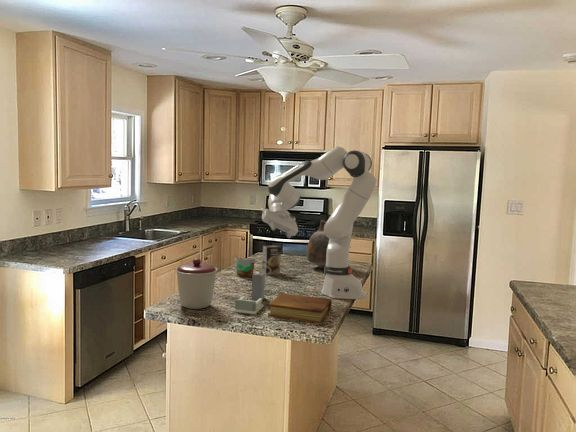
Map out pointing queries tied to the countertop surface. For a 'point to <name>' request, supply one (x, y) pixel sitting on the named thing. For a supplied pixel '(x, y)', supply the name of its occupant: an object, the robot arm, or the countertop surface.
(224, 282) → the countertop surface
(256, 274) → the grey block with knob
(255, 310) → the pocket
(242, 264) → the food container
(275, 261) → the coffee box
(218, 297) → the countertop surface
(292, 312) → the diary
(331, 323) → the countertop surface
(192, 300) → the canister
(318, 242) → the jug
